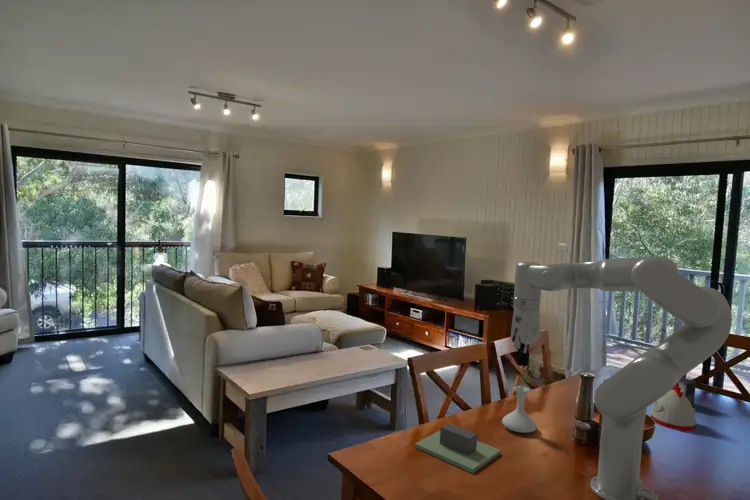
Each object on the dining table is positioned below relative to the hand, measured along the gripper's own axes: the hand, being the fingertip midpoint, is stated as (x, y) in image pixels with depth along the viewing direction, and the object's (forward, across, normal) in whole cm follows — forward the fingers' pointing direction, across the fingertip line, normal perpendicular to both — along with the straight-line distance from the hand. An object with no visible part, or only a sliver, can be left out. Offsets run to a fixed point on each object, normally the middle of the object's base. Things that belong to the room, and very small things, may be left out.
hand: (522, 364), depth 140 cm
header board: (+27, -12, +13) cm, 32 cm away
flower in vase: (+27, +18, +7) cm, 33 cm away
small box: (+27, +90, -26) cm, 98 cm away
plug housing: (+26, -12, +13) cm, 31 cm away
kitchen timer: (+27, +66, -29) cm, 77 cm away
